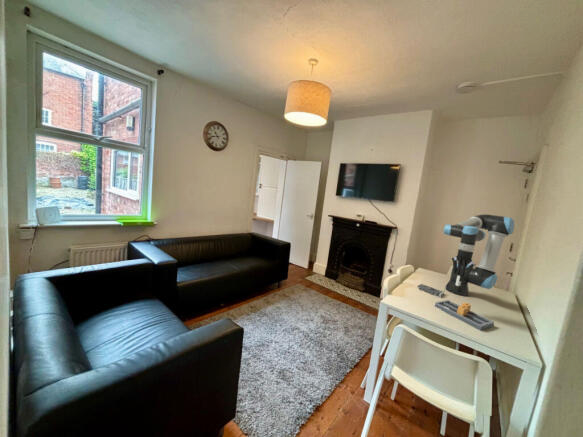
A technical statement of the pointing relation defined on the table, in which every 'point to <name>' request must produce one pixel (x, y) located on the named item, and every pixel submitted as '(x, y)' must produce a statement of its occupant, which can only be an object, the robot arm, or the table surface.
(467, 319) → the switch bank
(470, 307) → the tab
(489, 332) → the table surface
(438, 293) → the graphics card
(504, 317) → the table surface
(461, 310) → the tab
